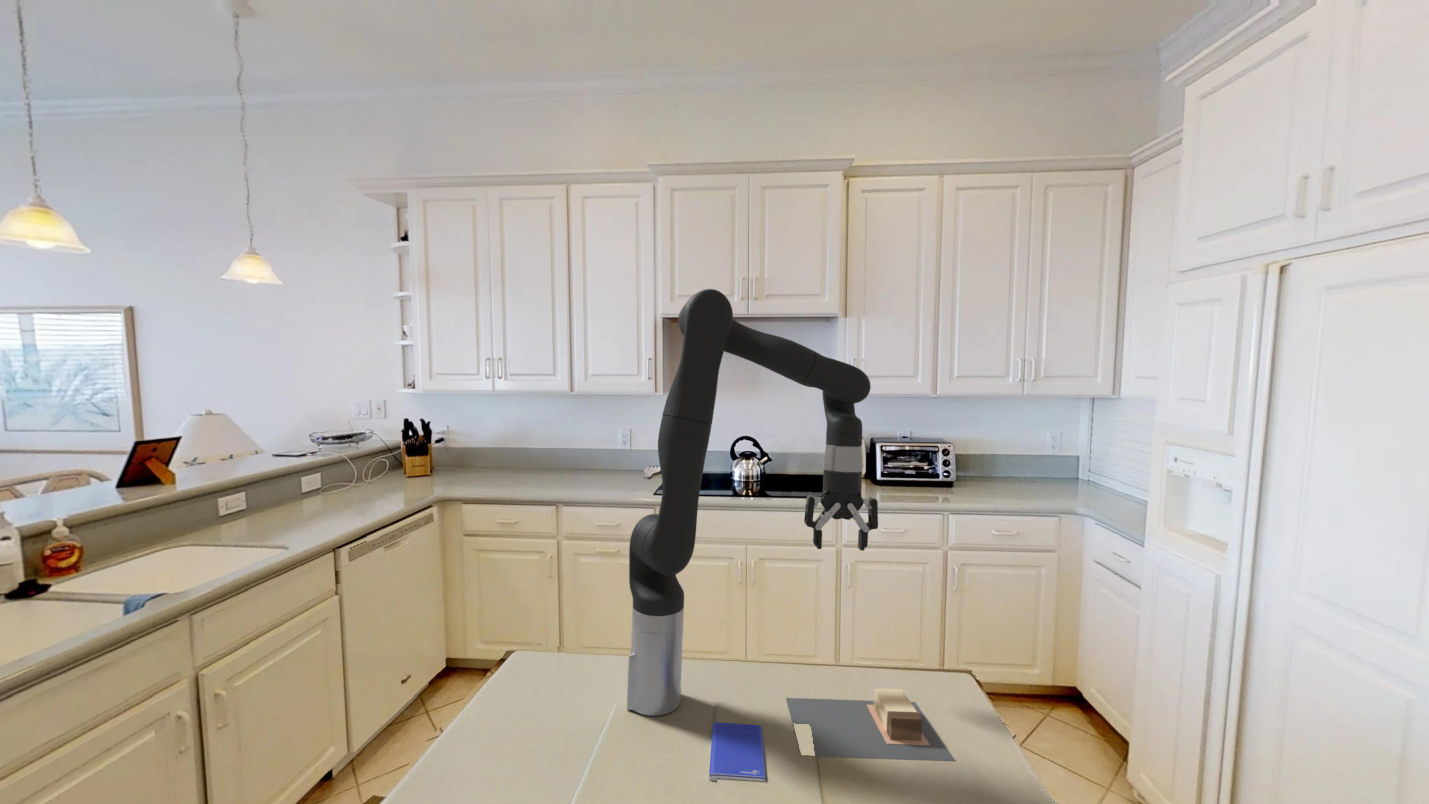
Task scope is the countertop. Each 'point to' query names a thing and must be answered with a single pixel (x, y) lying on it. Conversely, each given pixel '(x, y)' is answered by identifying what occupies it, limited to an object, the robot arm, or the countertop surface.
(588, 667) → the countertop surface
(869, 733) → the rubber mat
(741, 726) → the hard drive
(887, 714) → the beige rectangular block
